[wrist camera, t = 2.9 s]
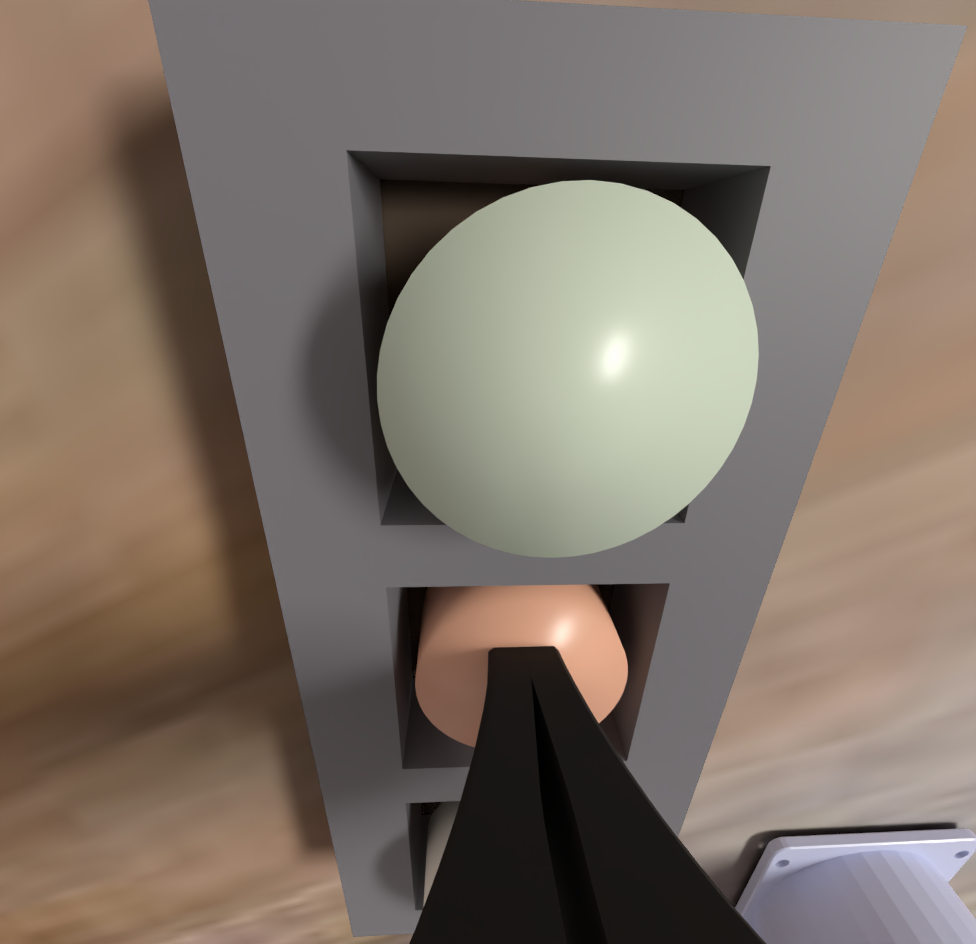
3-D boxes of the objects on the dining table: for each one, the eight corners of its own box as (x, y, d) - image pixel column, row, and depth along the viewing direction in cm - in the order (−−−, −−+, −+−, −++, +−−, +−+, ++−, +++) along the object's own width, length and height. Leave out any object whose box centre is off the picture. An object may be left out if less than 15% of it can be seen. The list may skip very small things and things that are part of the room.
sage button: (650, 484, 8) (709, 555, 6) (407, 484, 8) (390, 559, 6) (705, 207, 7) (812, 187, 5) (390, 196, 6) (359, 172, 4)
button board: (622, 829, 17) (648, 920, 14) (368, 840, 16) (353, 936, 14) (816, 93, 8) (966, 25, 5) (245, 66, 7) (142, -22, 5)
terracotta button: (588, 670, 13) (611, 749, 11) (426, 674, 12) (419, 755, 10) (610, 534, 11) (644, 599, 9) (419, 536, 10) (410, 603, 8)
